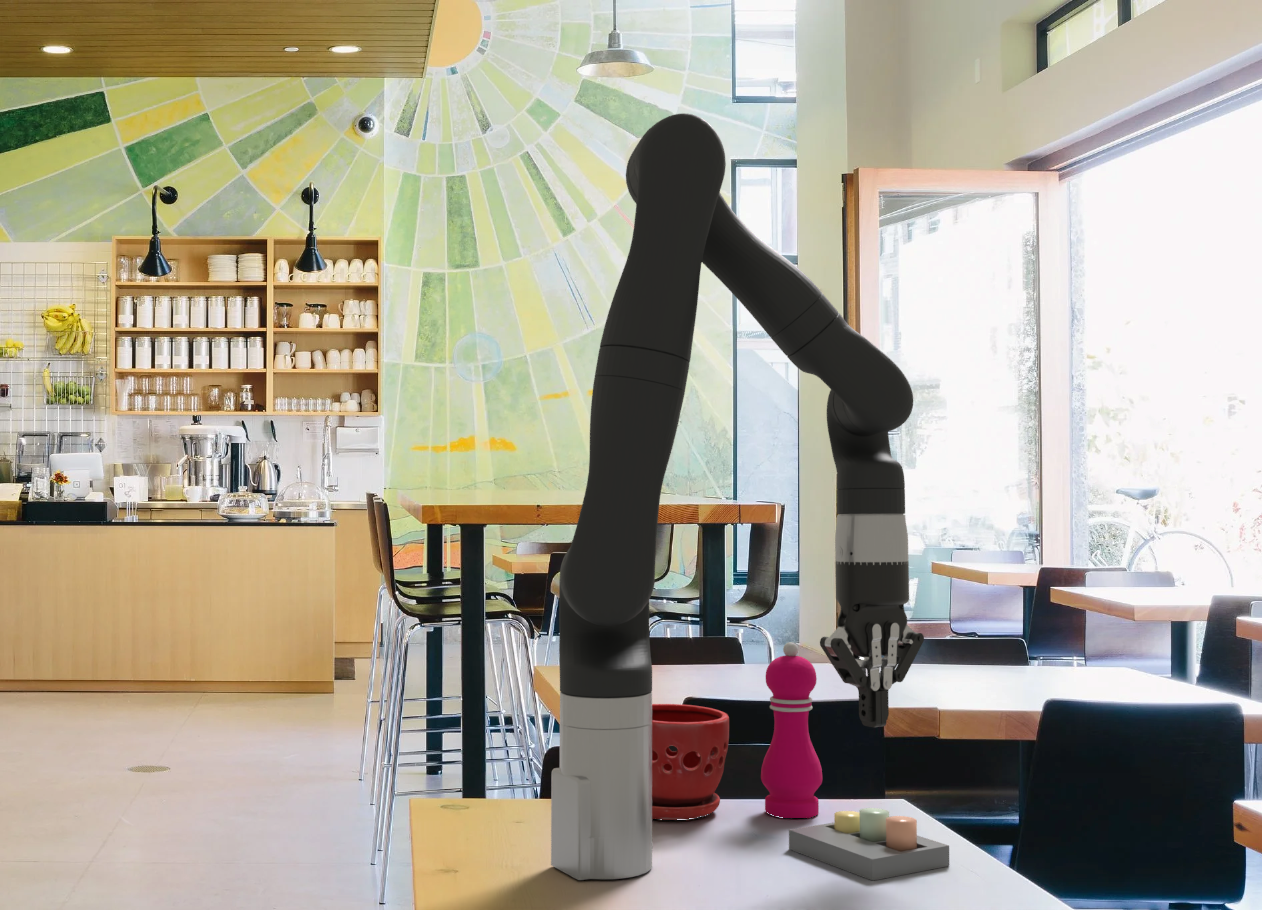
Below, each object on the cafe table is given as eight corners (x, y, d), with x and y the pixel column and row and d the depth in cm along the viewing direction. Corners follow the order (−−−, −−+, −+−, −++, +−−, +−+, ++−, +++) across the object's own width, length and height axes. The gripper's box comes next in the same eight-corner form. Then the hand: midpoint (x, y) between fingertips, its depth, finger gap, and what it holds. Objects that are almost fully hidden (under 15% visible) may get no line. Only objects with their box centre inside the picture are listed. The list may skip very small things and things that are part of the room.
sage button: (873, 846, 123) (872, 816, 123) (853, 839, 125) (853, 809, 125) (895, 842, 124) (895, 812, 124) (875, 835, 127) (875, 806, 127)
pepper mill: (821, 806, 146) (819, 639, 147) (824, 821, 139) (823, 645, 140) (760, 805, 147) (759, 638, 148) (761, 819, 140) (760, 644, 141)
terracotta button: (900, 855, 119) (900, 824, 119) (879, 848, 122) (879, 818, 122) (923, 851, 121) (923, 820, 121) (902, 844, 123) (902, 814, 123)
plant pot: (615, 826, 137) (615, 718, 137) (621, 800, 150) (621, 701, 150) (731, 827, 136) (731, 719, 137) (727, 801, 149) (726, 702, 150)
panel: (872, 880, 116) (872, 859, 116) (789, 848, 127) (788, 829, 127) (949, 865, 121) (949, 845, 121) (862, 836, 132) (862, 817, 132)
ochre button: (847, 848, 126) (847, 818, 126) (828, 841, 129) (828, 812, 129) (869, 844, 127) (869, 815, 128) (850, 838, 130) (850, 809, 130)
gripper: (848, 560, 120) (850, 737, 119) (943, 557, 127) (946, 725, 126) (799, 558, 126) (801, 726, 125) (892, 556, 133) (895, 715, 132)
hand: (874, 725), depth 126 cm, fingers closed
